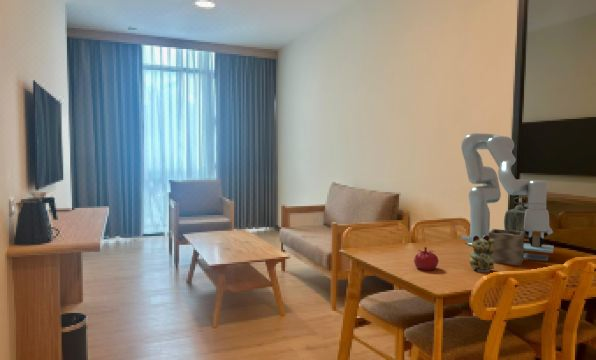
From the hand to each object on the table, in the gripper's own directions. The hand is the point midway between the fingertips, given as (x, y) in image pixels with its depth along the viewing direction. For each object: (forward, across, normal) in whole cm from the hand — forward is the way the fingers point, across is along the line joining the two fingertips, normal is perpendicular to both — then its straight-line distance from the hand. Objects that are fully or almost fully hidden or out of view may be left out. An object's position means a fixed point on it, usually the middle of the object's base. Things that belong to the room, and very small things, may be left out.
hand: (536, 245), depth 193 cm
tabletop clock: (+6, -10, +39) cm, 40 cm away
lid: (+1, 0, 0) cm, 1 cm away
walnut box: (+6, -11, -13) cm, 18 cm away
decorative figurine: (+6, -18, -36) cm, 41 cm away
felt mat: (+6, 0, 0) cm, 6 cm away
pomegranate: (+6, -38, -46) cm, 60 cm away
